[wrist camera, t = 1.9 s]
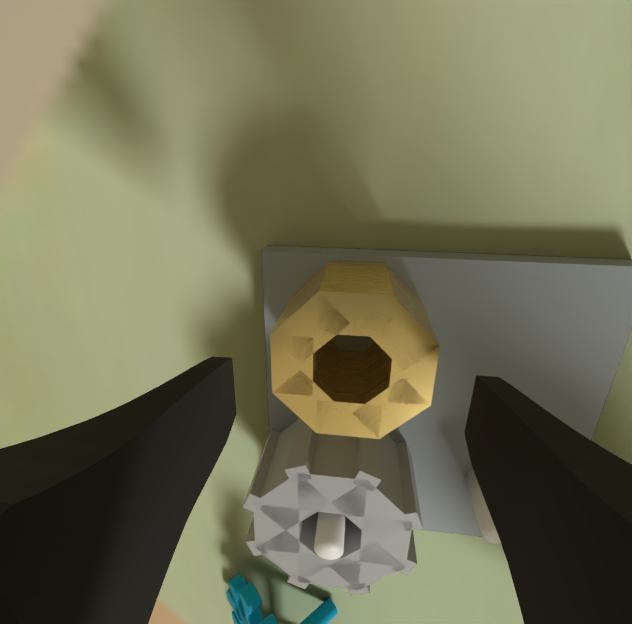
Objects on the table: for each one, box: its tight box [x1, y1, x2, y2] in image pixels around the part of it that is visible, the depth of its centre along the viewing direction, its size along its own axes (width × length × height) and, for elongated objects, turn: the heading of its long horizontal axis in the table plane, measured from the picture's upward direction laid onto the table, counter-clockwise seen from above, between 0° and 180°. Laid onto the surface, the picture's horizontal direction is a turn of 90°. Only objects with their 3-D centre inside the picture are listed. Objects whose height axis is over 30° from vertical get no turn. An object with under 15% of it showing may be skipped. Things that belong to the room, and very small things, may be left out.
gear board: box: [243, 245, 632, 596], centre depth 16 cm, size 15×15×6 cm
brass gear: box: [270, 260, 440, 439], centre depth 14 cm, size 6×6×4 cm
